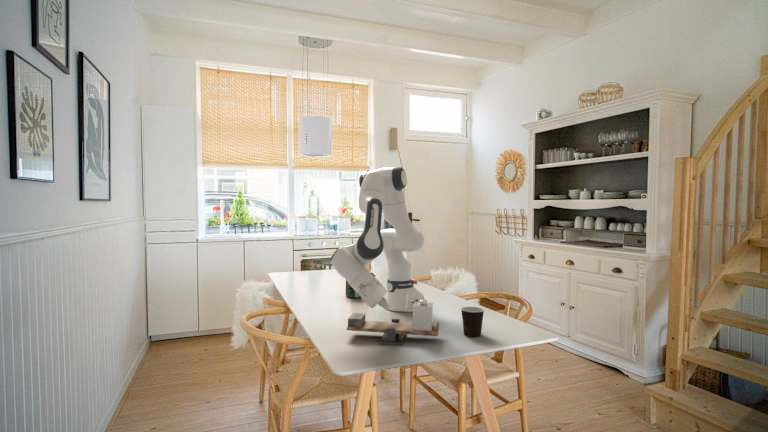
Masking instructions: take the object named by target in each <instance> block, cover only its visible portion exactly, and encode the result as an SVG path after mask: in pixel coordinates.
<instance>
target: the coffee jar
mask: <svg viewBox="0 0 768 432" xmlns="http://www.w3.org/2000/svg"><path fill="white" fill-rule="evenodd" d="M359 293H360V292H359ZM359 293H357V292H356V291H355V290H354V289H353V288H352V287H351V286H350V285H349V283H348V281H347V280H346V279H345V296H346V297H348V298H349V299H358V298H362V297H361V296H360V294H359Z"/></svg>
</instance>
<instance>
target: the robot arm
mask: <svg viewBox="0 0 768 432" xmlns="http://www.w3.org/2000/svg"><path fill="white" fill-rule="evenodd" d="M358 180H359V181H358V183H359V187H360V189H359V196H358V208H359V210H360V211H361V213H363V214H365V217H364V218H365V219H364V226H363V227H364V228H363V231H362V233H361V234H360V236H359V237H358V240H357V241H356V242H355V243H353V244H350V245H340V246H338V247H337V249H336V250H335V251H334V252H333V254H332V255H331V258H330V264H331V265H332V267H333V269H334V270H335V271H336V272H337V273H338V274H339V275H340V277H341V278H344V279H345V281H346V280H347V281H348V283H349V285H350V286H351V287H352V288H353V289H354V290H355V291H356V292H357V293H359V292H360V293H359V294H360V296H361V297H360V298H361V299H362V300H363V301H364V302H365V303H366V305H368V307H369V308H371V309H373V308H375V307H376V306H377V305H378V306H379V307H381V308H383V309H384V310H385V311H392V312H404V313H405V312H406V313H407V312H408V313H411V312H412V313H413V305H414V302H419V300H422V299H424V300H425V295H424V294H423V293H422V292H421V291H420V290H419V289H417V288H416V286H415V285H417V284H418V280H416V279H412V264H411V263H410V260H408V259H407V258H406V257H405V256H404V253H403V252H405V253H413V252H418V251H421V250H422V248H423V247H424V243H425V237H424V235H423V233H422V232H421V231H419V230H418V229H417V228H416V227H415V225H414V224H413V223H412V222H411V221H412V220H411V219H410V217H409V215H408V211H407V205H406V201H405V195H404V194H405V193H404V191H403V189H404V188H405V187H406V186H407V182H408V177H407V173H406V170H405V169H404V168H403V167H399V166H394V167H392V166H391V167H389V166H388V167H380V168H376V169H370V170H369V169H368V170H366V171H362V172H361V174H360V176H359V179H358ZM382 215H383V218H384V220H385V222H387V223H388V224H389V225H391V226H392V228H384V229H382ZM382 253H383V254H384V255H385V258H386V262H387V268H388V269H387V270H388V278H387V280H386V281H387V283H386V284H387V289H386V288H385V287H384V286H383V284H382V283H381V282H380V281H379V280H378V279H377V278H376V275H375V274H374V272H371V271H370V270H368V269H367V268H366V266H368V265H370V264H372V262H374V261H375V259H376V258H378V257H379V256H381V254H382ZM414 284H415V285H414ZM386 293H387V294H386ZM385 295H387V297H386V298H385V297H384V296H385Z"/></svg>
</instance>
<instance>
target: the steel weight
mask: <svg viewBox="0 0 768 432" xmlns="http://www.w3.org/2000/svg"><path fill="white" fill-rule="evenodd" d="M433 318H434V302H428V300H427V299H425V298H424V299H422V300H419V302H414V305H413V312H412V324H413V326H412V330H415V331H430V332H432V325H434V324H433V323H434V322H433Z"/></svg>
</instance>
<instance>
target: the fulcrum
mask: <svg viewBox="0 0 768 432" xmlns="http://www.w3.org/2000/svg"><path fill="white" fill-rule="evenodd" d="M391 322H396V323H401V322H400V318H391ZM405 336H406V334H395V328H387V333H382V336H381V338H380V340H379V345H382V346H384V345H385V346H399V347H401V346H402V345H403V343H404V339H405Z"/></svg>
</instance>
